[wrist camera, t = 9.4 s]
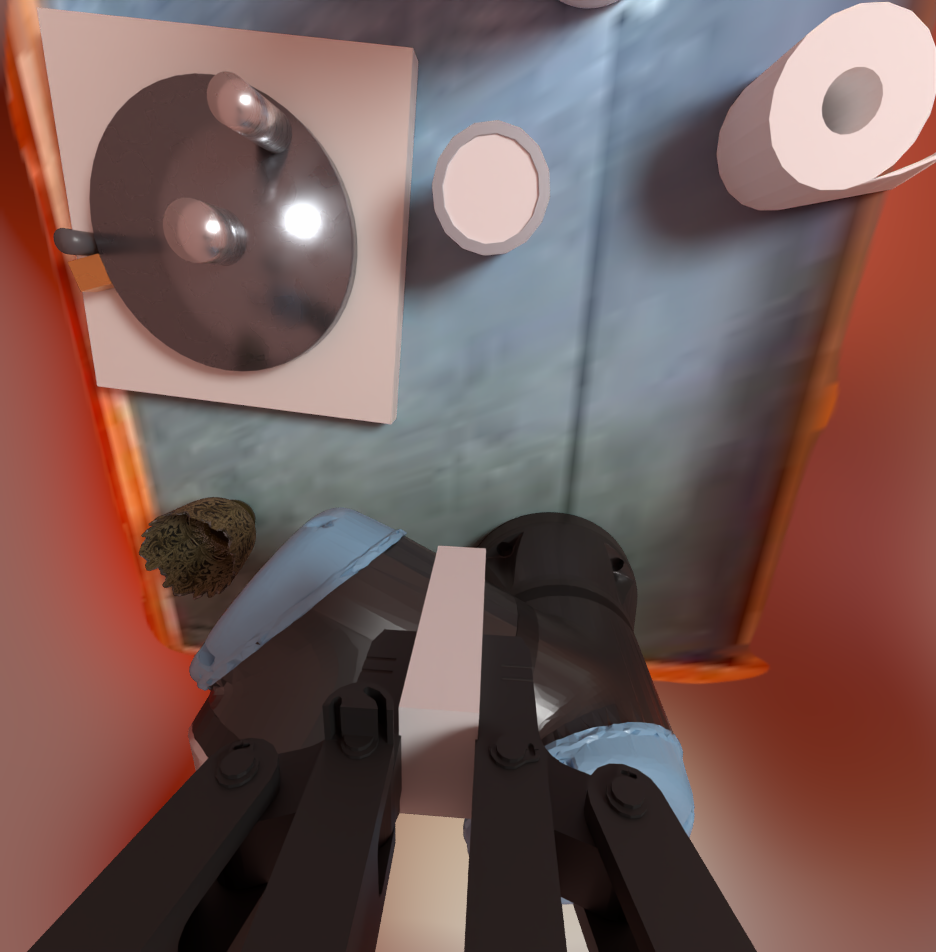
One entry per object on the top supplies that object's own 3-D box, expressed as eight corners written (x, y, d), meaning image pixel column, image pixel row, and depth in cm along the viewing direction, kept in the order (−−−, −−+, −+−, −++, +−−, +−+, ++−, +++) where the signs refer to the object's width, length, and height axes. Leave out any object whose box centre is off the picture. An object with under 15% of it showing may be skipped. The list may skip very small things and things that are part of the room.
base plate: (396, 418, 40) (383, 433, 36) (116, 381, 41) (70, 392, 37) (418, 62, 32) (404, 25, 27) (63, 24, 32) (-4, -18, 28)
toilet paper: (892, 189, 32) (989, 162, 26) (715, 221, 34) (765, 204, 27) (909, 38, 30) (1023, -35, 23) (716, 80, 31) (772, 23, 24)
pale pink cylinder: (534, 267, 36) (540, 261, 29) (441, 257, 36) (427, 249, 29) (549, 159, 33) (560, 125, 27) (449, 148, 33) (436, 113, 27)
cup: (183, 498, 44) (118, 539, 37) (245, 463, 43) (190, 499, 35) (233, 562, 46) (180, 613, 39) (294, 531, 45) (251, 579, 37)
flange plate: (351, 384, 37) (320, 402, 31) (96, 347, 38) (14, 357, 31) (364, 102, 31) (328, 53, 24) (56, 61, 31) (-57, 3, 25)
